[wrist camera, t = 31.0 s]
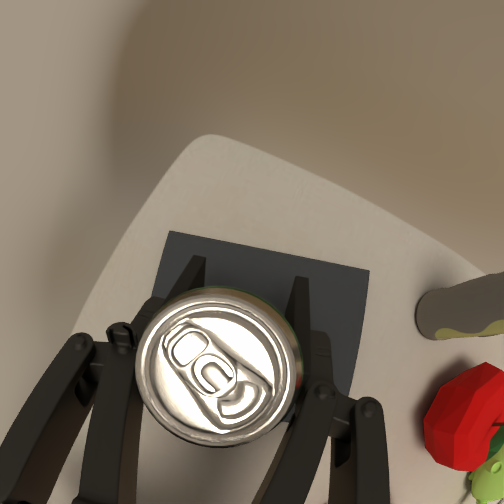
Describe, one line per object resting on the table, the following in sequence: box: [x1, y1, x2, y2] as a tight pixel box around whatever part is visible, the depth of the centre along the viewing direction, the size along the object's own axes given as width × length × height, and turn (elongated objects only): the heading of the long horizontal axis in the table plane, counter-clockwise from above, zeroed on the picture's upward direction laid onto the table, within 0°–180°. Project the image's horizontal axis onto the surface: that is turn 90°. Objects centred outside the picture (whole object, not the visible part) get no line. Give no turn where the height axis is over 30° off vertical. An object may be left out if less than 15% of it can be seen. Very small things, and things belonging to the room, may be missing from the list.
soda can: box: [135, 286, 304, 448], centre depth 12 cm, size 5×5×12 cm
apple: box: [423, 362, 504, 472], centre depth 15 cm, size 11×11×10 cm
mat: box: [151, 231, 370, 422], centre depth 22 cm, size 18×14×1 cm
